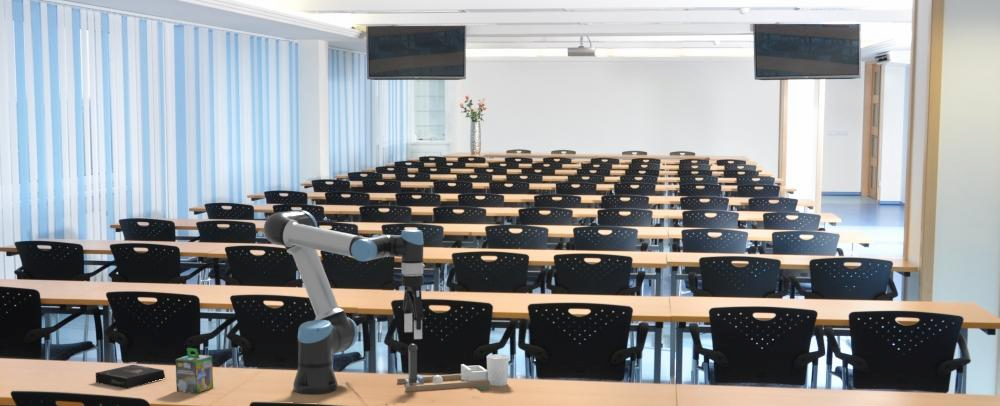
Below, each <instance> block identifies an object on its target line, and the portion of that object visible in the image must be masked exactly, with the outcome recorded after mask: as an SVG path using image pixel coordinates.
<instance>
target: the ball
mask: <svg viewBox="0 0 1000 406" xmlns="http://www.w3.org/2000/svg"><path fill="white" fill-rule="evenodd" d="M440 375H441V374H440ZM440 375H439V374H436V375H433V376H434V377H433V381H432V384H438V383H444V381H443V378H442V377H441V376H440Z"/></svg>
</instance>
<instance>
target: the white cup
mask: <svg viewBox="0 0 1000 406" xmlns="http://www.w3.org/2000/svg"><path fill="white" fill-rule="evenodd" d="M509 360H510V357H509V355H507V354H500V353H497V354H488V355H486V370H487V371H488V380H490V387H491V386H492V387H504V386H506V385H508V375H509V362H510V361H509Z"/></svg>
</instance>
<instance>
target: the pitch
mask: <svg viewBox="0 0 1000 406" xmlns="http://www.w3.org/2000/svg"><path fill="white" fill-rule="evenodd" d="M434 376H435V375H425V376H422V377H423V378H424V383H426V382H427V383H429V382H433V377H434ZM440 376H441V377H442V378H443V382H442V383H438V384H434V383H429V384H427V383H426V384H424V385H411V386H406V385H405V386H404V387H405V392H408V393H409V392H419V391H420V392H421V391H432V390H444V389H446V390H447V389H460V388H472V387H473V388H474V389H476V390H477V391H479V390H481V391H482V390H490V387H491V385H490V380H479V381H455V380H461V373H453V374H440ZM405 379H409V377H397V379H396V381H397V382H396V384H398V385H399V384H402V385H403V384H405ZM444 381H455V382H444Z"/></svg>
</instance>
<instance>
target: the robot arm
mask: <svg viewBox="0 0 1000 406" xmlns="http://www.w3.org/2000/svg"><path fill="white" fill-rule="evenodd" d="M263 232H264V233H263V234H264V237H265V238H266V239H267V241H269V242H270V243H271V244H273V245H275V246H276V245H277V246H282V247H285V250H286V253H289V254H290V255H292V257H293V260H294V263H295V265H296V268H297V270H298V272H299V276H300V277H301V281H302V283H303V286H304V289H305V291H306V293H307V296H308V299H309V302H310V304H311V307H312V309H313V311H314V314H315V318H314V319H313V320H308V321H305V322H303V323H301V324H300V325H299V327H298V329H297V330H298V332H297V347H298V348H297V350H298V351H297V354H298V356H297V357H298V360H297V361H298V364H297V365H298V367H297V372H296V375H295V378H294V381H293V387H292V388H293V391H294V392H295V393H299V394H305V395H318V394H320V395H321V394H327V393H332V392H334V391H336V390H338V380H337V377H336V375H335V371H334V368H333V355H335V354H338V353H342V352H345V351H348V349H349V350H350V348H352V347H353V346H354V345H355V344H356V342H357V340H358V335H359V330H358V325H357V324H356V322H355V321H354V320H353V319H351V318H350V317H349V316H348V317H347V313H346V312H345V310H344V309H342V308H341V307H340V306H339V305H338V303H337V300H336V297H335V295H334V291H333V290H332V287H331V284H330V282H329V279H328V277H327V274H326V272H325V268H324V266H323V263H322V261H321V258H320V256H319V253H318V251H322V252H327V253H331V254H336V255H341V256H346V257H352V258H354V259H355V260H356V261H359V262H369V261H372V260H377V259H382V258H387V257H394V258H395V257H397V258H401V274H402V275H401V285H402V286H403V287H404V295H403V302H402V308H401V309H402V311H403V313H404V314H403V317H404V318H403V319H404V323H403V324H404V325H403V327H404V328H403V329H404V330H403V331H404V333H413V340H422V339H423V320H424V318H425V316H424V307H423V299H422V290H419V287H422V286H424V283H425V281H424V279H425V278H424V275H423V274H424V268H425V267H426V265H425V264H424V244H425V243H424V234H423V233H424V232H423V231H422V230H420V229H403V230H402V231H401V234H400V235H397V234H396V235H395V234H385V233H384V234H383V233H381V234H379V233H378V234H373V235H372V236H371V237H370V236H369V237H366V236H361V235H360V236H359V235H356V234H352V233H347V232H341V231H337V230H331V229H330V230H329V229H326V228H321V227H318V222H317V220H316V219H315V216H314V215H312V214H311V213H310V212H309V211H307V210H301V209H294V210H289V211H278V212H275V213H273V214H271V215H270V216H269V217H267V218H266V220H265V222H264V225H263Z"/></svg>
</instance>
